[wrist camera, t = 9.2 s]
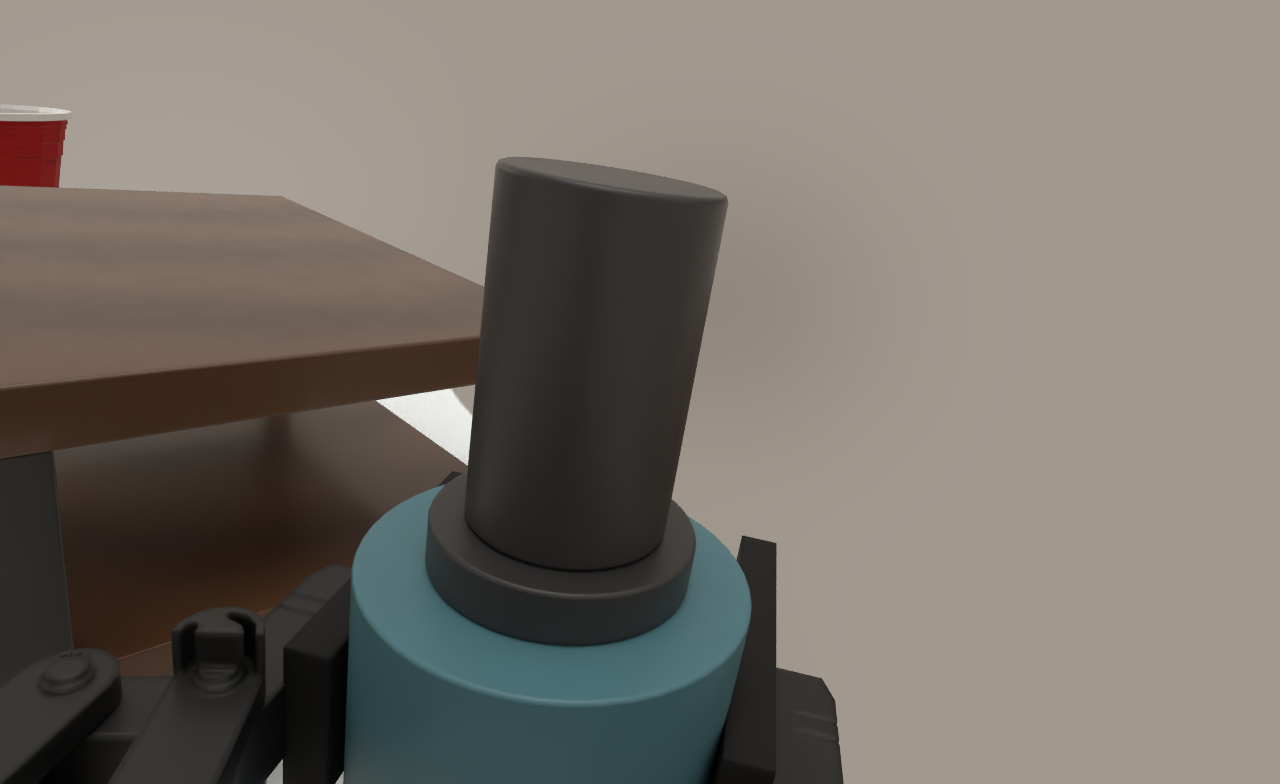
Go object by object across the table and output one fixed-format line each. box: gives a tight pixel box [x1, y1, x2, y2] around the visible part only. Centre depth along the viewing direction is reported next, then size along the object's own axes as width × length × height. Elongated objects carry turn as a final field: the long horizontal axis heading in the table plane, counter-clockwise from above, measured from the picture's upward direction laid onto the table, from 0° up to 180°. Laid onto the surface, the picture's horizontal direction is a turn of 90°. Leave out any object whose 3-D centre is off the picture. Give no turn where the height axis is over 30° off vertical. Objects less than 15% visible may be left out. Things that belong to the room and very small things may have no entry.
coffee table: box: [0, 186, 484, 688], centre depth 28 cm, size 22×15×12 cm
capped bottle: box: [343, 157, 752, 784], centre depth 13 cm, size 6×6×18 cm
